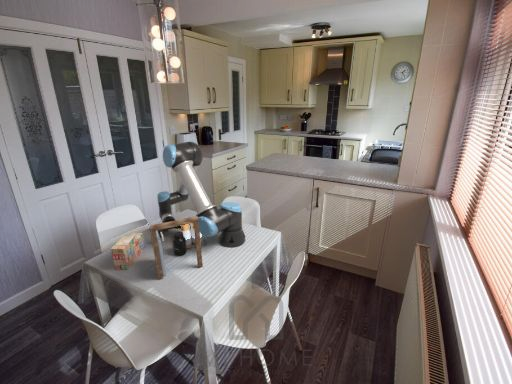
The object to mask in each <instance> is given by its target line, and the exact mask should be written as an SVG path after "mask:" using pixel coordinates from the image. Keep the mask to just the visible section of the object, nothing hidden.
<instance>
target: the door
mask: <svg viewBox="0 0 512 384" xmlns="http://www.w3.org/2000/svg"><path fill="white" fill-rule="evenodd" d="M156 234H157V241H158V247H159V254H160V261H161V267H162V274H163V277H164V276H166V275H167V272H166V265H165V258H164V252H163V245H162V239H161V238H160V237H159V234H158V231H156Z"/></svg>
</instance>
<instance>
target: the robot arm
mask: <svg viewBox="0 0 512 384" xmlns="http://www.w3.org/2000/svg"><path fill="white" fill-rule="evenodd" d="M162 150H163V151H162V161H163V164H164V165H165V167H167V168H171V169H172V171H173V172H174V173H177V174H178V176H179V178H180V180H179V182H178V186H177V189H176V191H174V192H171V193H170V192H169V191H165V190H164V191H160V192H158V193H157V194H156V195H157V204H158V210H159V211H158V214H159V218H160V220H161V223H165V222H170V221H175V220H176V218H175V217H174V214H173V212H172V206H173V205H175V204H179V203H181V202H186V201H188V200H189V199H190V200H191V201H192V204H193V206H194V208H195V210H196V215H195V216H198V219H199V230H200V235H202V236H204V237H207V238H210V237H213V236H216V235H217V234H219V233H220V236H219V238H218V240H219V244H220V245H221V246H224V247H226V248H237V247H239V246H242V245H244V244H245V242H246V235H245V232H244V229H243V220H242V219H243V216H242V214H243V213H242V212H243V211H242V206H241V205H240V204H239V203H238V202H234V201H233V202H232V201H226V202H225V201H224V202H221V204H220V206H219V208H218V207H217V205H215V204H212V201H211V199H210V197H209V196H208V194H207V192H206V190H205V188H204V187H203V185H202V182H201V180H200V178H199V176H198V175H197V171H198V167H200V166H201V164H202V161H203V158H204V154H203V150H202V147H200V145H199V144H198V143H196V142H193V141H185V142H178V143H171V144H167V145H165V147H163V149H162ZM189 225H190V229H189V230H191V228H192V227H191V223H189ZM173 229H175V230H176V229H177V230H178V229H180V230H182V229H181V226H175V227H171V228H166V229H161V230H157V231H158V234H159V237H160V239H161V242H165V237H164V233H165V232H168V231H169V230H173Z"/></svg>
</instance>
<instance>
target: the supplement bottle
mask: <svg viewBox="0 0 512 384" xmlns="http://www.w3.org/2000/svg"><path fill="white" fill-rule="evenodd" d="M172 238H173V239H172V240H171V241H172V249H173V251H172V252H173V255H175V256H176V257H183V256H184V255H186V254H187V252H188V251H187V240H186V237H185V236H184V233H183V231H175V232H174V233H173V237H172Z"/></svg>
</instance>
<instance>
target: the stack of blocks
mask: <svg viewBox="0 0 512 384" xmlns="http://www.w3.org/2000/svg"><path fill="white" fill-rule="evenodd" d="M145 248H146V243H145V237H144V233H143V232H131V233H130V234H129V235H127V236H126V235H123V236H121V238H120V239H119V240H118V241H117V242H116V243H115V244H114V245H112V247H111V248H110V251H111V252H110V253H111V256H112V262H113V266H114V270H115V271H128V270H129V269H130V268H131V267H132V266H133V264H134V263H135V261H136V260H137V258H138V257H139V256H140V255H141V253H142V252H143V251H144V250H145Z"/></svg>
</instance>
